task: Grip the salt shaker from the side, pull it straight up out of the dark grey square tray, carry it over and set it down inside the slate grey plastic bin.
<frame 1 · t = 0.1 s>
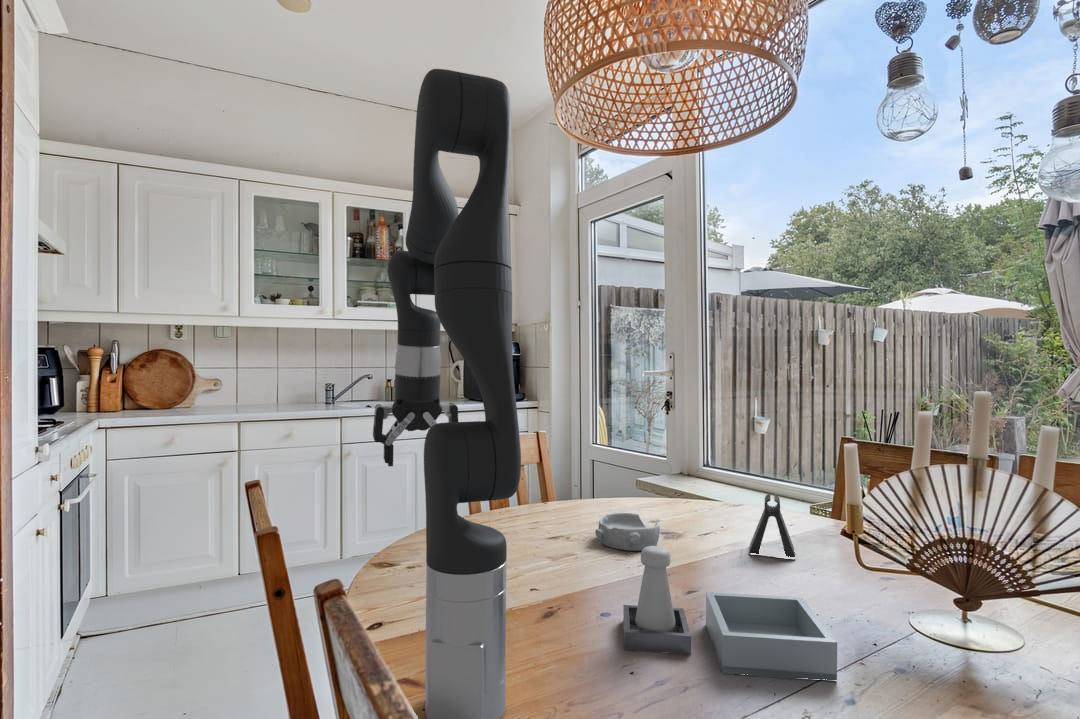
hand: (415, 463, 101), 22 cm above the table, tool pointing down, fingers open, 8 cm apart
dish: (627, 544, 129), on the table
salt shaker: (655, 638, 85), resting in dark grey square tray
black a-shaped piece: (771, 554, 123), on the table
bin: (765, 650, 81), on the table
dark grey square tray: (655, 636, 85), on the table
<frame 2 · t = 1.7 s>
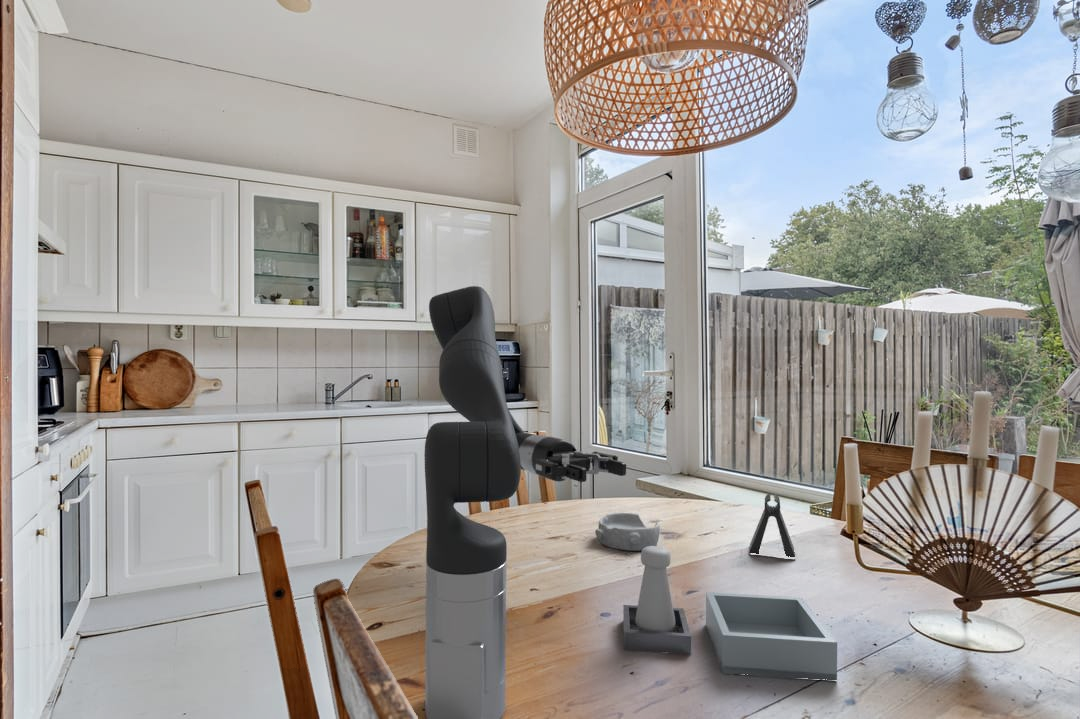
hand: (605, 472, 95), 22 cm above the table, tool horizontal, fingers open, 8 cm apart
nothing on the table moved.
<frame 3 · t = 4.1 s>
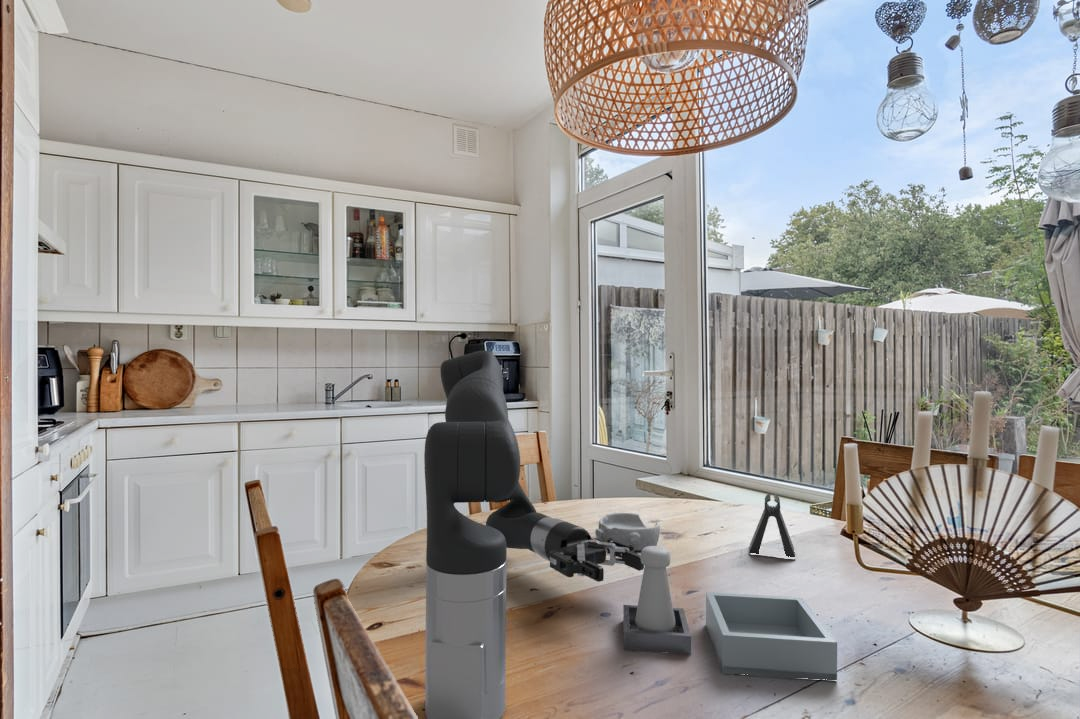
hand: (622, 569, 91), 8 cm above the table, tool horizontal, fingers open, 8 cm apart
nothing on the table moved.
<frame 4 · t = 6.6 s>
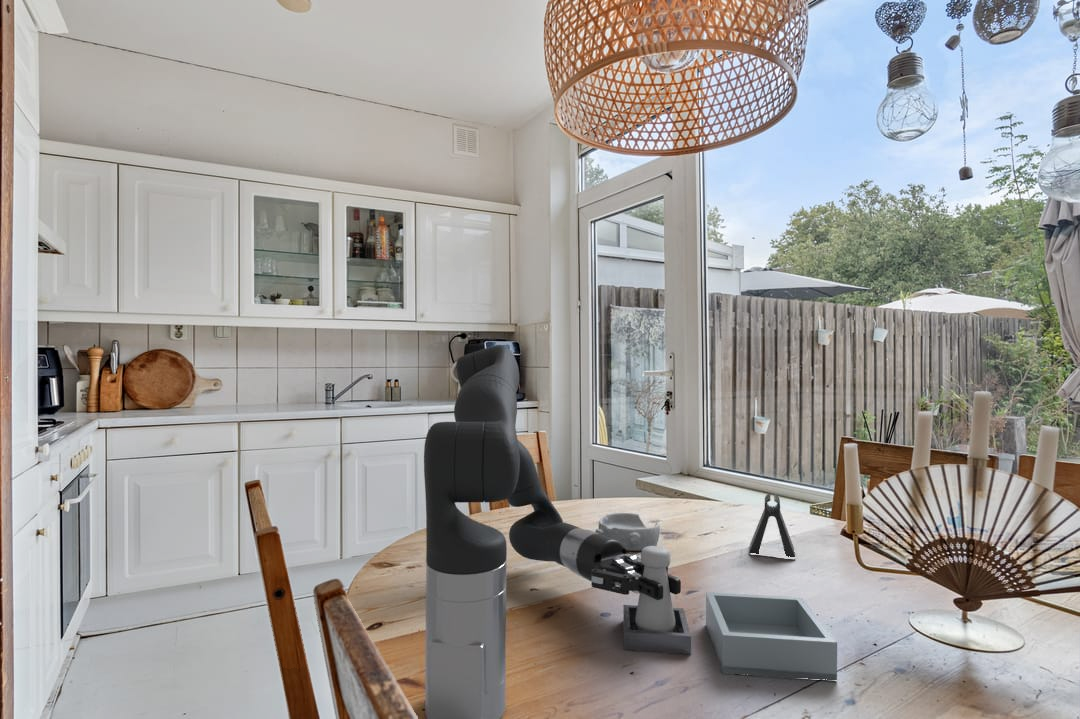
hand: (670, 589, 83), 8 cm above the table, tool horizontal, fingers closed on salt shaker, 3 cm apart
salt shaker: (655, 638, 85), resting in dark grey square tray, touching gripper
everything else where it was.
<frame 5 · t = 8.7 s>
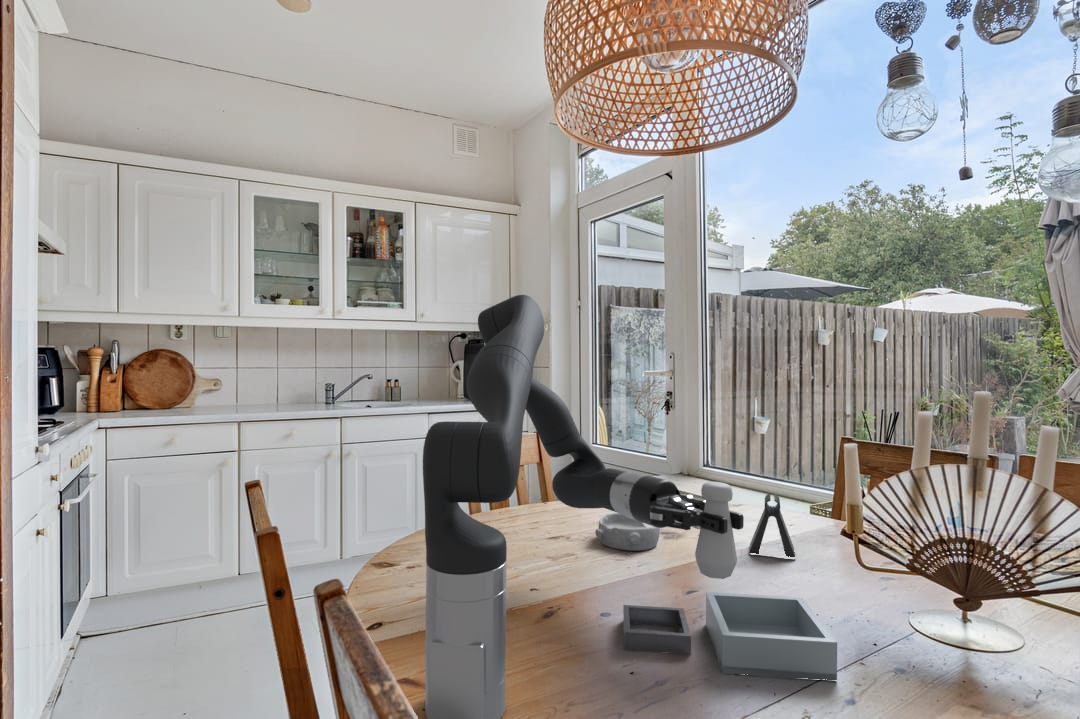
hand: (733, 524, 81), 18 cm above the table, tool horizontal, fingers closed on salt shaker, 3 cm apart
salt shaker: (715, 574, 84), point 10 cm above the table, touching gripper
everything else where it was.
when the fingers open (10 cm above the table, at t = 11.0 s): salt shaker drops 1 cm, resting on bin.
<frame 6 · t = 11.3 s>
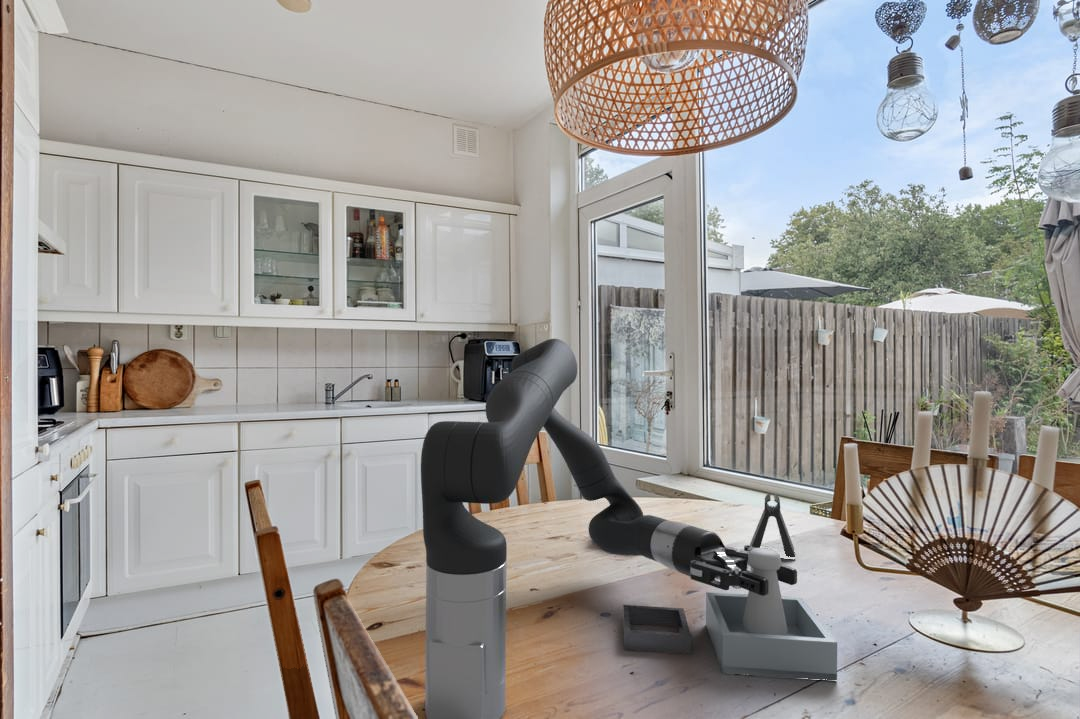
hand: (781, 582, 79), 10 cm above the table, tool horizontal, fingers open, 6 cm apart
salt shaker: (764, 644, 82), point 1 cm above the table, touching bin
everything else where it was.
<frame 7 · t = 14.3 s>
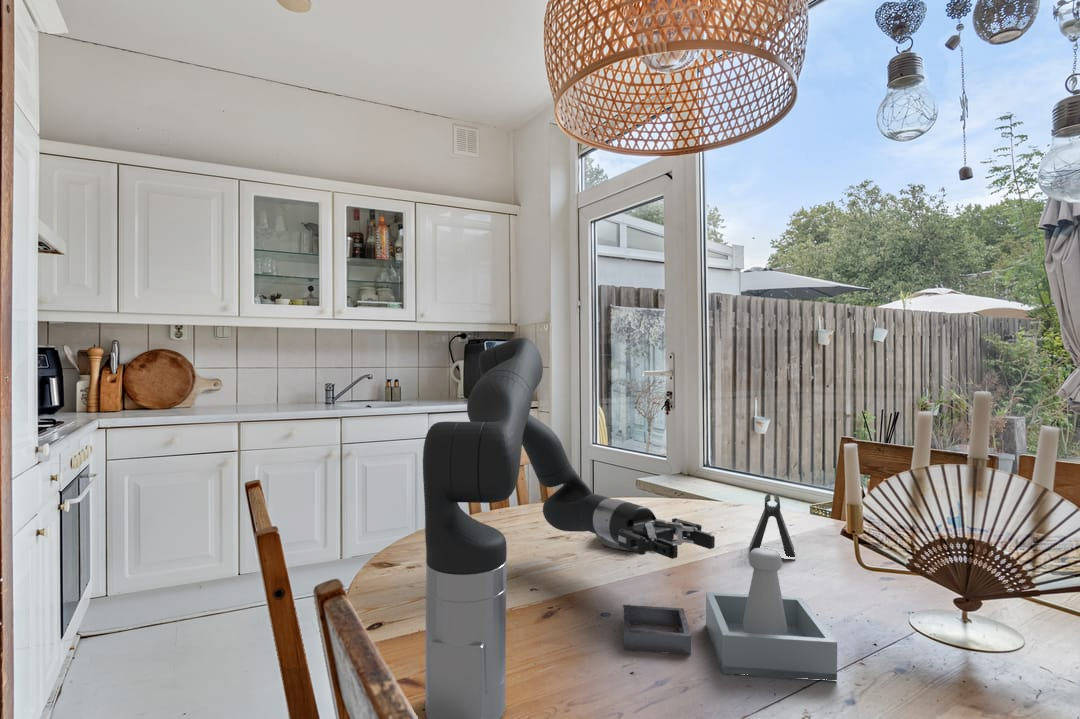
hand: (695, 547, 90), 12 cm above the table, tool horizontal, fingers open, 8 cm apart
nothing on the table moved.
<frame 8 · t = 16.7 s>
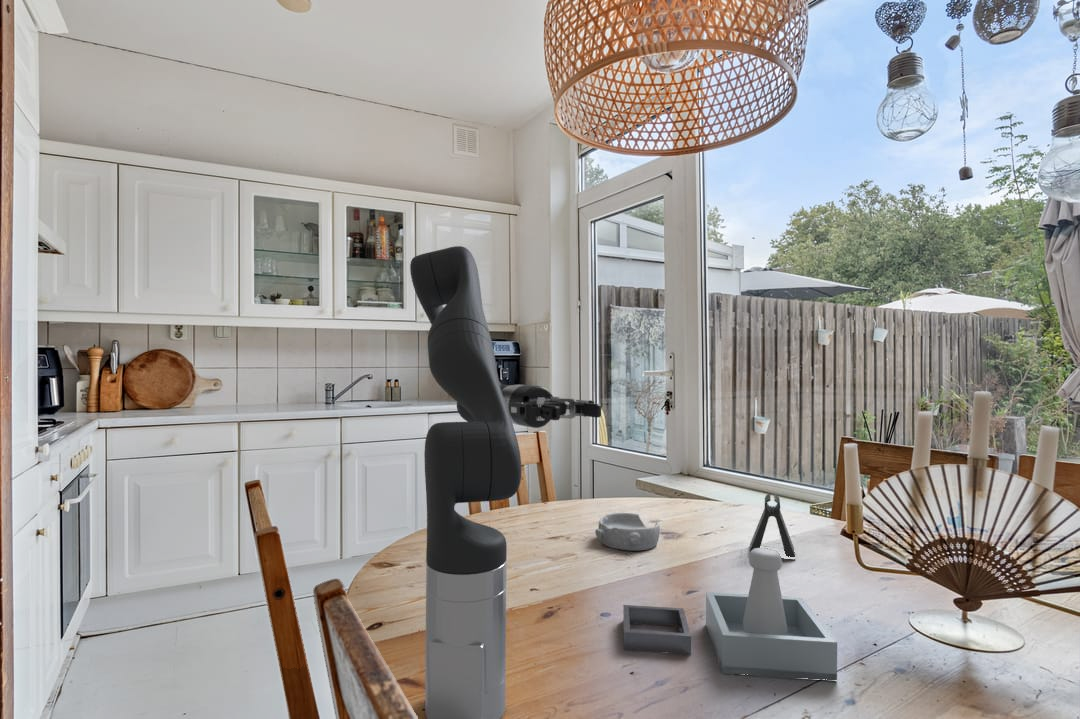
hand: (579, 412, 94), 32 cm above the table, tool horizontal, fingers open, 8 cm apart
nothing on the table moved.
at the end: salt shaker inside the target area on the bin (0.1 cm from its centre), point 0.8 cm above the bin's base; the gripper is holding nothing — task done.
